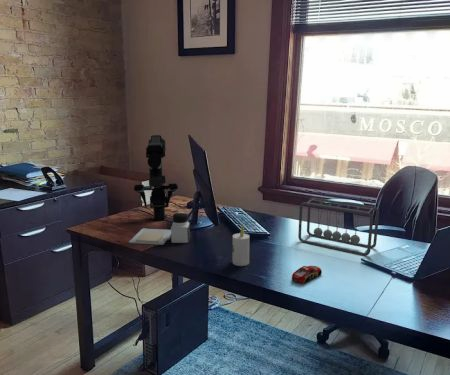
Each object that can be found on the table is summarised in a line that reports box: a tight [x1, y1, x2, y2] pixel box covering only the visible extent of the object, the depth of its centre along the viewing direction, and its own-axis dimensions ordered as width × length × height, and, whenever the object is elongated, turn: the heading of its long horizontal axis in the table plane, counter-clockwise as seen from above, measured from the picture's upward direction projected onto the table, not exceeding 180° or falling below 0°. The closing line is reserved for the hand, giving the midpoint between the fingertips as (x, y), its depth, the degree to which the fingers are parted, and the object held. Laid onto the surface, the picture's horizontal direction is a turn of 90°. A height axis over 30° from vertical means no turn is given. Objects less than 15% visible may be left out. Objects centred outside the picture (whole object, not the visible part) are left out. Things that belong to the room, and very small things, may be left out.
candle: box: [231, 224, 251, 267], centre depth 149 cm, size 6×6×15 cm
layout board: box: [128, 227, 171, 246], centre depth 177 cm, size 17×15×1 cm
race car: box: [291, 265, 322, 284], centre depth 139 cm, size 13×5×4 cm, turn 132°
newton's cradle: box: [298, 197, 380, 257], centre depth 166 cm, size 30×10×18 cm, turn 56°
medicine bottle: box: [170, 211, 191, 244], centre depth 172 cm, size 7×7×12 cm
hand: (156, 207), depth 175 cm, fingers open, 9 cm apart
